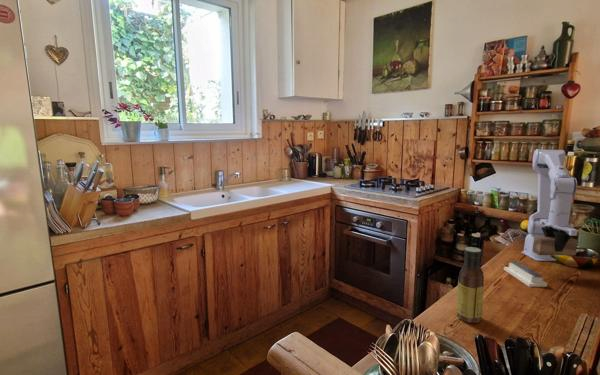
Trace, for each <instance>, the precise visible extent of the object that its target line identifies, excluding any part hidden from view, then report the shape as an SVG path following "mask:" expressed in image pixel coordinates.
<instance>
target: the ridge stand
mask: <svg viewBox="0 0 600 375" xmlns="http://www.w3.org/2000/svg"><path fill="white" fill-rule="evenodd" d="M503 270H504V271H506V272H507V273H508V274H510V275H511V276H513V277H514V278H515V279H517V280H518V281H520V282H522V284H524V285H526V286H528V287H530V288H531V287H533V288H534V287H536V288H541V287H543V288H545V287H547V288H548V283H547V282H545V281H544V280H543V276H542V275H541V274H540V273H537V272H536V271H534V270H532V269H531V268H529V267H528V266H526V265H524V264H523V263H521V262H520V261H518V260H510V262H509V264H508V266H503Z"/></svg>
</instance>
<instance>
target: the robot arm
mask: <svg viewBox="0 0 600 375" xmlns="http://www.w3.org/2000/svg"><path fill="white" fill-rule="evenodd" d="M566 157H567V156H566V151H565V150H564V149H539V148H536V149H535V150H534V151H533V155H532V170H533V172H536V173H537V209H536V210H537V211H536V212H534V213H533V214H531V215H530V216H529V218H528V221H527V233H528V234H527V235H526V236H525V238H524V246H523V250H522V251H521V254H523V255H525V256H527V257H529V258H530V259H532V260H535V261H536V262H540V261H541V262H542V261H543V262H547V261H548V262H556V261H557V259H556V258H554V257H552V255H538V254H536V253H534V252H532V250H533V242H534V237H555V251H557V252H562V251H563V249H564V247H565V245H566V243H567V242H568V241H569V239H570V238H573V237H574V236H575V237H576V236H578V229H576V228H574V227H573V226H570V225H569V223H570V216H571V209H572V202H573V196H574V195H575V194H576V192H577V189H578V181H577V178H576V177H573V176H572V177H571V175H570V173H569V170H568V169H567V167H565V166H564V164H565V163H566V162H565V161H566Z"/></svg>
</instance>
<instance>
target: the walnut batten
mask: <svg viewBox="0 0 600 375" xmlns="http://www.w3.org/2000/svg"><path fill="white" fill-rule="evenodd" d="M578 243H579V240H578V239H575V238H573V237H571V238H570V239H569V241H568V242H567V243H566V245H565V247H564V249H563V251H562V252H557V251H555V237H534V242H533V250H532V252H534V253H536V254H538V255H551V256H576V255H577V248H578Z"/></svg>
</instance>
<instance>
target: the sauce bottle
mask: <svg viewBox="0 0 600 375" xmlns="http://www.w3.org/2000/svg"><path fill="white" fill-rule="evenodd" d="M463 250H464V251H463V253H464V261H463V266H462V267H461V269H460V271H459V273H458V274H459V275H458V278H457V279H458V280H457V296H456V297H457V298H456V300H457V301H456V312H457V317H458V318H459V319H460V320H461V321H463V322H466V323H470V324H478V323H480V322H481V321H482V316H483V307H484V306H483V304H484V291H485V290H484V289H485V284H484V279H485V276H484V271H483V269H482V267H481V256H482V249H481V248H479V247H473V246H467V247H465V248H464V249H463Z"/></svg>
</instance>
